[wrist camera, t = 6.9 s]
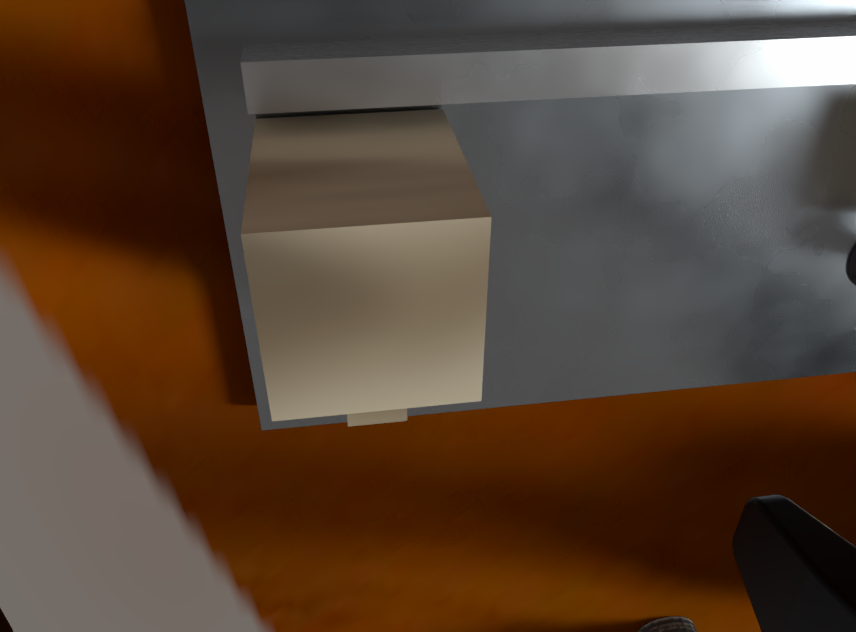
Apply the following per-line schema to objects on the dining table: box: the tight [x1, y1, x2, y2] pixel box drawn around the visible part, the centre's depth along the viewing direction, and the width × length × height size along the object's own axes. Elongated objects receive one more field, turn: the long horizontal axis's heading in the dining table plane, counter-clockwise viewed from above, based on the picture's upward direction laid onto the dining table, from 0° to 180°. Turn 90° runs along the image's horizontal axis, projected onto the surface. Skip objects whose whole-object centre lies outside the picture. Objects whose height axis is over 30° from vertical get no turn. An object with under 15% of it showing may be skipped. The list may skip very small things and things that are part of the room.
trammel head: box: [241, 109, 491, 427], centre depth 15 cm, size 5×4×5 cm
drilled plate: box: [184, 0, 856, 430], centre depth 17 cm, size 14×20×4 cm
